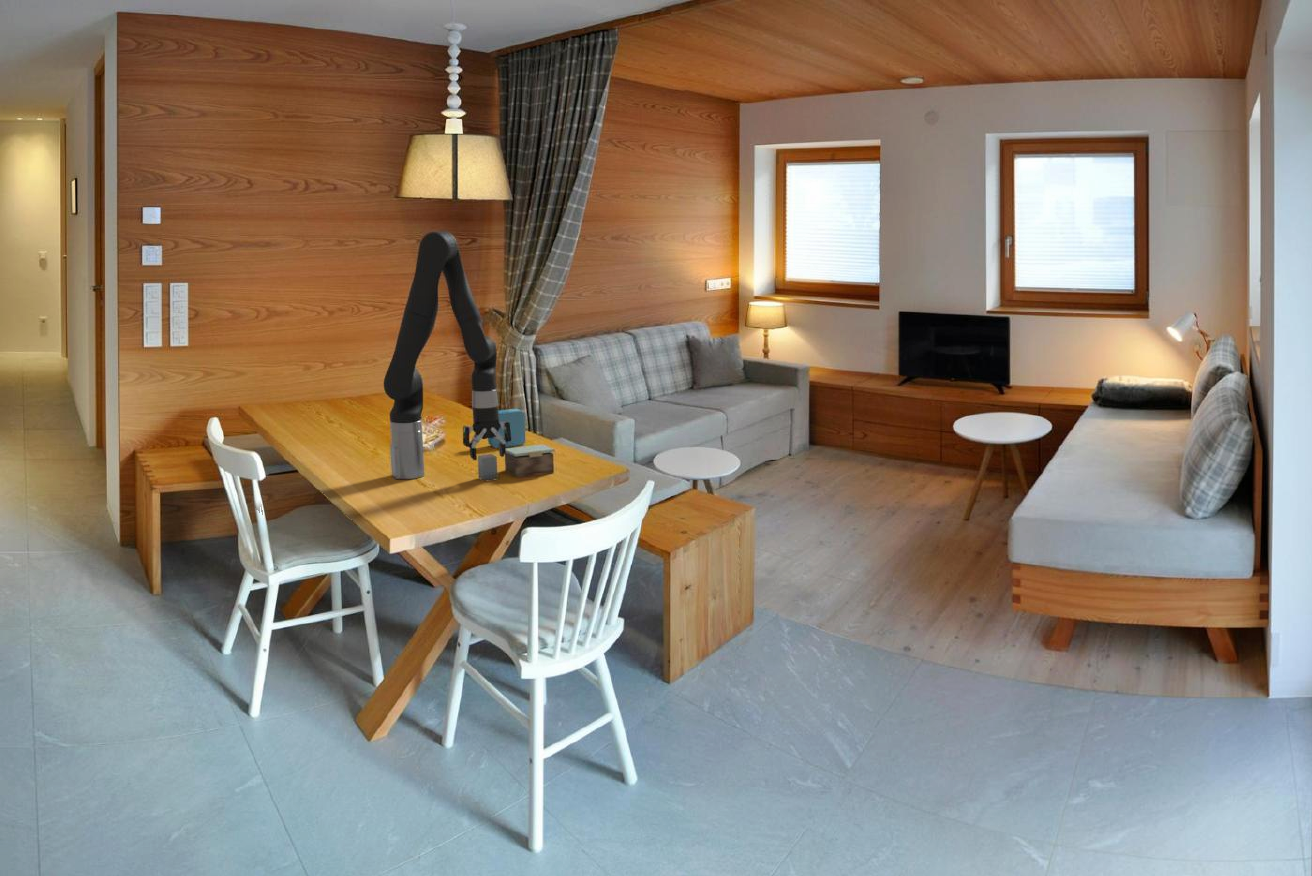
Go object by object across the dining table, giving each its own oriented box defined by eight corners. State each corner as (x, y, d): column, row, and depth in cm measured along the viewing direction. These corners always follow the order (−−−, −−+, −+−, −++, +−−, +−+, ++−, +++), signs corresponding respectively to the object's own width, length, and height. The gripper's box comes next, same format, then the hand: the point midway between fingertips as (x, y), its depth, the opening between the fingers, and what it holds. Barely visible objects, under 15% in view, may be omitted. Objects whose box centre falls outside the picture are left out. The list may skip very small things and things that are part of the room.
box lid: (516, 459, 314) (515, 453, 313) (503, 453, 323) (503, 448, 323) (555, 454, 319) (555, 449, 319) (542, 448, 329) (542, 443, 329)
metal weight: (483, 481, 312) (482, 458, 311) (478, 478, 316) (477, 455, 315) (497, 479, 314) (496, 457, 313) (492, 476, 318) (491, 453, 317)
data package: (521, 442, 363) (520, 408, 360) (526, 444, 359) (524, 410, 356) (488, 446, 357) (486, 411, 355) (492, 448, 353) (491, 413, 351)
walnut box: (516, 477, 316) (516, 458, 315) (505, 470, 325) (504, 451, 324) (553, 472, 322) (553, 453, 320) (541, 465, 330) (541, 447, 329)
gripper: (465, 409, 304) (469, 463, 307) (512, 404, 310) (515, 457, 314) (458, 405, 310) (461, 458, 314) (503, 400, 317) (506, 452, 320)
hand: (488, 457), depth 314 cm, fingers open, 8 cm apart
